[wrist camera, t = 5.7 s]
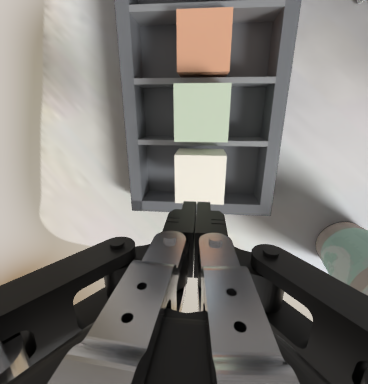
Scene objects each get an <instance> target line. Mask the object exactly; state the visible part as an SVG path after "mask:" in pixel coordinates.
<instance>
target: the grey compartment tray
mask: <svg viewBox="0 0 368 384" xmlns="http://www.w3.org/2000/svg"><path fill="white" fill-rule="evenodd" d="M114 2H115V14H116V26H117V37H118V49H119V61H120V73H121V85H122V97H123V108H124V120H125V132H126V144H127V156H128V168H129V180H130V191H131V203H132V211H158V212H171V211H172V210H174V209H182V206H183V203H175V167H174V155H175V153H176V152H177V151H178V149H179V148H190V149H224V151H225V153H226V155H227V163H226V178H225V194H224V205H215V204H210V206H211V210H212V211H220V212H221V213H222V214H235V215H261V216H271V209H272V202H273V195H274V188H275V181H276V174H277V167H278V160H279V153H280V146H281V139H282V132H283V125H284V118H285V111H286V104H287V97H288V90H289V83H290V76H291V69H292V62H293V55H294V48H295V41H296V34H297V28H298V21H299V14H300V7H301V0H114ZM217 7H233V24H232V40H231V56H230V72H229V73H228V75H227V76H226V77H207V78H181V77H180V76H179V74H178V73H177V25H176V9H190V8H217ZM173 83H232V86H231V101H230V117H229V132H228V142H174V96H173ZM196 213H197V204H196Z"/></svg>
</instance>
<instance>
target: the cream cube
mask: <svg viewBox="0 0 368 384" xmlns="http://www.w3.org/2000/svg"><path fill="white" fill-rule="evenodd" d="M226 163H227V155H226V153H225V151H224V149H190V148H179V149H178V151H177V152H176V153H175V155H174V167H175V203H183V202H184V201H194V202H196V204H197V202H210V204H215V205H224V194H225V178H226Z"/></svg>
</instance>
